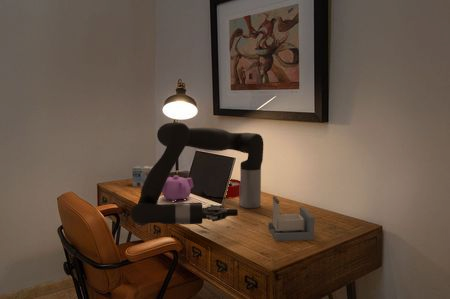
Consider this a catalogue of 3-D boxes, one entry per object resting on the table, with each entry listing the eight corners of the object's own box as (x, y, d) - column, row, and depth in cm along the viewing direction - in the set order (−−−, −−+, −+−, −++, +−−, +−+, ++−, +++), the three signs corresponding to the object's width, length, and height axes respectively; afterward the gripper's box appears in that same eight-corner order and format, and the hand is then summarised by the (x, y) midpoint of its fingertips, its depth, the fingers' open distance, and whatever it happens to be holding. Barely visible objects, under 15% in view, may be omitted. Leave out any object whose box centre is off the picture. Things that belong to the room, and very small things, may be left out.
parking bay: (268, 228, 152) (268, 207, 150) (303, 227, 153) (303, 206, 152) (275, 240, 138) (275, 218, 137) (313, 239, 139) (314, 217, 138)
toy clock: (195, 182, 205) (223, 176, 219) (195, 193, 206) (223, 187, 220) (221, 189, 191) (250, 182, 205) (221, 200, 192) (250, 193, 205)
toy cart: (272, 228, 148) (272, 195, 147) (299, 227, 149) (299, 195, 147) (276, 235, 141) (276, 200, 140) (304, 234, 142) (305, 200, 141)
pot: (167, 206, 182) (166, 181, 180) (152, 198, 196) (151, 174, 195) (201, 200, 192) (201, 176, 190) (184, 193, 206) (184, 170, 205)
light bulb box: (132, 186, 221) (131, 167, 220) (137, 184, 228) (136, 165, 226) (150, 187, 219) (150, 168, 218) (155, 184, 226) (154, 165, 225)
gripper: (188, 208, 134) (239, 207, 136) (188, 198, 147) (235, 197, 149) (188, 229, 135) (239, 228, 137) (189, 218, 148) (235, 216, 150)
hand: (237, 212), depth 143 cm, fingers closed
